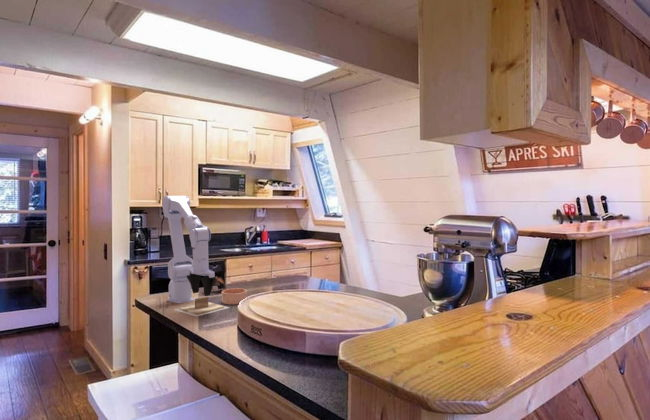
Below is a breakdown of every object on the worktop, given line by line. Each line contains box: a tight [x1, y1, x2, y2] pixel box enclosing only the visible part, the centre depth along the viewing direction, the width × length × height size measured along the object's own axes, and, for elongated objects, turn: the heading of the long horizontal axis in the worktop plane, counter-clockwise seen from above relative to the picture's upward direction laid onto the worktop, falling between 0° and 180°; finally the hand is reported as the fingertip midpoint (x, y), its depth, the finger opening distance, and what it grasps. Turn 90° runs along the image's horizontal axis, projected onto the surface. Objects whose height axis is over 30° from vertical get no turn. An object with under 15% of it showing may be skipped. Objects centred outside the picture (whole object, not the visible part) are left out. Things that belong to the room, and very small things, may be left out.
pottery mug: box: [211, 276, 228, 291], centre depth 191 cm, size 12×10×8 cm
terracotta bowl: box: [221, 287, 248, 305], centre depth 173 cm, size 10×10×4 cm
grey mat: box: [173, 303, 230, 317], centre depth 162 cm, size 15×15×1 cm
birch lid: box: [178, 296, 224, 315], centre depth 162 cm, size 12×12×4 cm
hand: (201, 294), depth 162 cm, fingers open, 7 cm apart
